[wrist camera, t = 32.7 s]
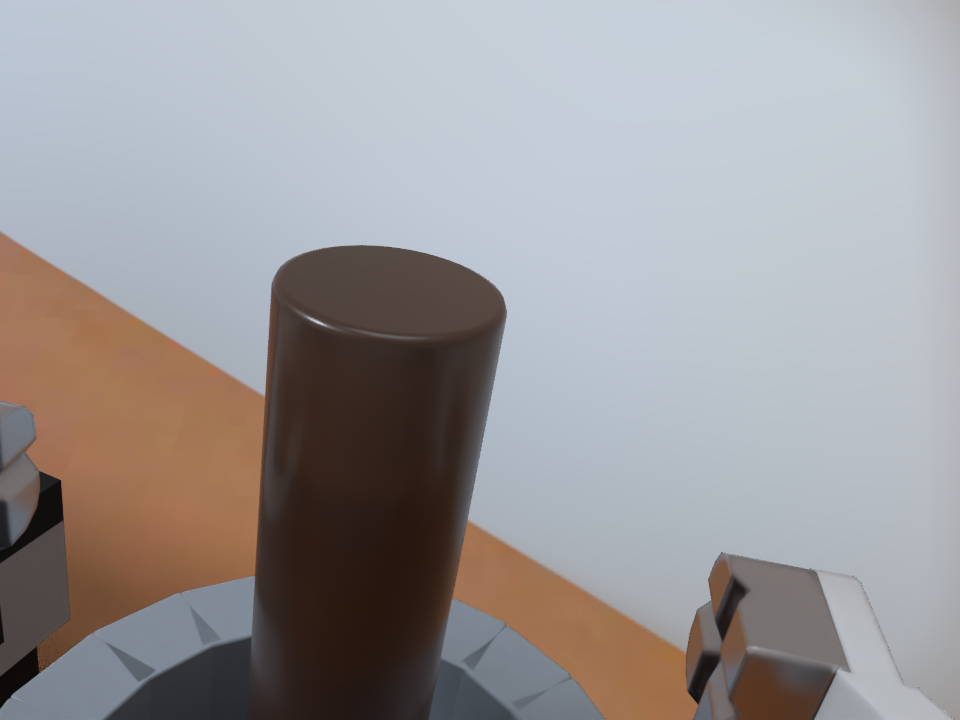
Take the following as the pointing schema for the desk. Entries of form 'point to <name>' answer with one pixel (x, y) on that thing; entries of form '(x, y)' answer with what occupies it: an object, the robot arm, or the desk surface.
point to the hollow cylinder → (226, 664)
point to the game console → (32, 589)
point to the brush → (366, 478)
